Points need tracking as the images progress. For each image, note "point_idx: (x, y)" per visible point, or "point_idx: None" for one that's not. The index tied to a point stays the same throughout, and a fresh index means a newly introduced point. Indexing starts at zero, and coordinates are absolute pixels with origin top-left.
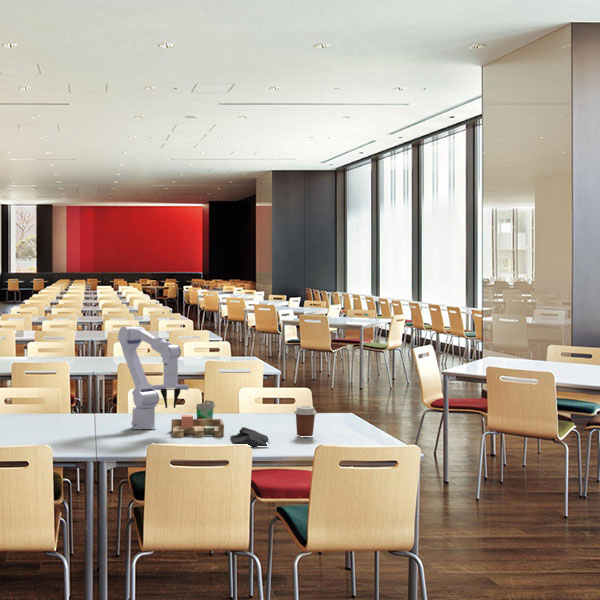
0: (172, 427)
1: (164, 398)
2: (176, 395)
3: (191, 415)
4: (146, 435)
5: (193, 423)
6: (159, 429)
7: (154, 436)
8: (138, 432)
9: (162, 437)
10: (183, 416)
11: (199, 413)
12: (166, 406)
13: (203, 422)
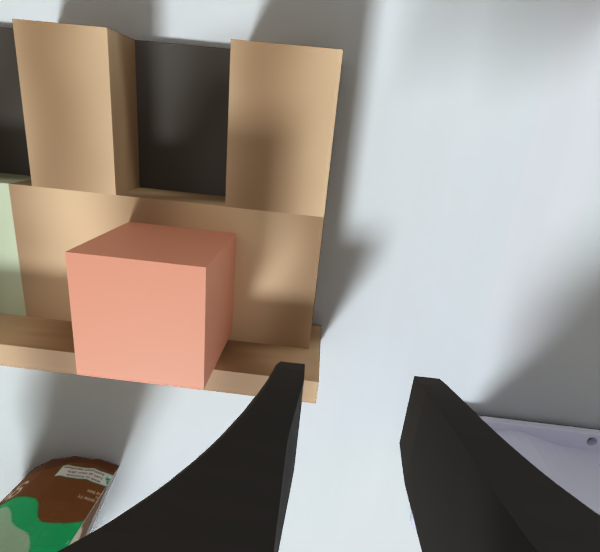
0: (312, 340)
1: (559, 497)
2: (202, 516)
3: (88, 334)
4: (570, 193)
5: None
6: (398, 425)
7: (510, 131)
8: (596, 338)
9: (446, 65)
10: (186, 279)
11: (38, 545)
12: (434, 388)
13: (17, 328)
